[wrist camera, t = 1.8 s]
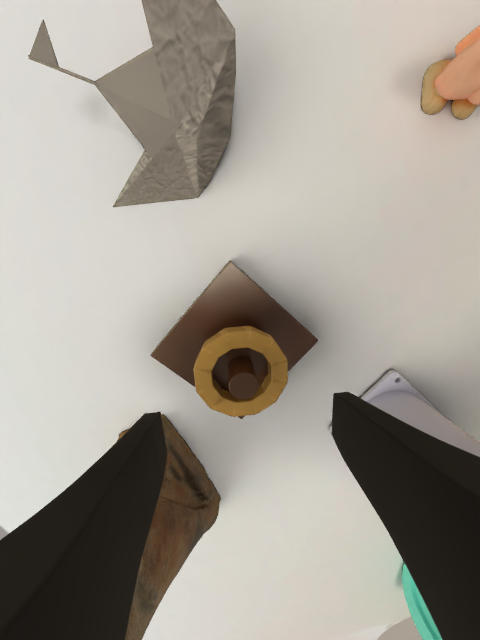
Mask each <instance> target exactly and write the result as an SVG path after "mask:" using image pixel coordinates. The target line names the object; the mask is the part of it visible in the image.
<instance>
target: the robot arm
mask: <svg viewBox="0 0 480 640" xmlns="http://www.w3.org/2000/svg"><path fill="white" fill-rule="evenodd" d="M396 378H397V380H395V379H396ZM329 431H330V433H331V434H332V436H333V438H334V440H335V443H336V445H337V447H338V449H339V451H340V453H341V455H342V457H343V459H344V461H345V462H346V464H347V466H348V467H349V469H350V471H351V472H352V474H353V475H354V477H355V479H356V480H357V482H358V483H359V485H360V487H361V488H362V490H363V491H364V493H365V495H366V496H367V498H368V499H369V501H370V503H371V504H372V506H373V507H374V509H375V511H376V512H377V514H378V515H379V517H380V519H381V520H382V522H383V524H384V525H385V527H386V529H387V531H388V532H389V534H390V536H391V538H392V540H393V542H394V544H395V545H396V547H397V549H398V551H399V553H400V555H401V557H402V559H403V561H404V563H405V565H406V567H407V568H408V570H409V572H410V574H411V576H412V578H413V580H414V582H415V584H416V586H417V588H418V590H419V592H420V594H421V596H422V598H423V600H424V602H425V604H426V606H427V608H428V610H429V612H430V614H431V617H432V619H433V621H434V623H435V625H436V627H437V629H438V631H439V633H440V635H441V638H442V640H480V442H479V441H477V440H476V439H475V438H473V437H472V436H470V435H469V434H468V433H466V432H465V431H464V430H462V429H461V428H459V427H458V426H457V425H455V424H454V423H452V422H451V421H450V420H448V419H447V418H445V417H444V416H443V415H442V414H441V413H440V412H438V411H437V410H436V409H435V408H434V407H433V406H432V405H431V404H430V403H429V402H428V401H427V400H426V399H425V398H424V397H423V396H422V395H421V394H420V393H419V392H418V391H417V390H416V389H415V388H414V387H413V386H412V385H411V384H410V383H409V382H408V381H407V380H405V379H404V378H403V377H402V376H401V375H400V374H399V373H398V372H397V371H395V370H390V371H389V372H388V373H386V374H385V375H384V376H383V377H382V378H381V379H380V380H379V381H378V382H377V383H376V384H375V385H374V386H373V387H372V388H371V389H369V390H368V391H367V392H366V393H365V394H364V395H363V396H362V397H361V398H359V397H357V396H355V395H353V394H351V393H349V392H342V393H334V396H333V415H332V425H331V426H330V428H329ZM167 454H168V453H167V447H166V441H165V436H164V430H163V425H162V419H161V413H160V412H156V413H146V414H144V415H143V416H142V417H141V418H140V419H139V420H138V421H137V422H136V423H135V424H134V425H133V426H132V427H131V428H130V429H129V430H128V431H127V432H126V433H125V434H124V435H123V436H122V437H121V438H120V439H119V440H118V441H117V442H116V443H115V444H114V445H113V446H112V447H111V448H110V449H109V450H108V451H107V452H106V453H105V454H104V455H103V456H102V457H101V458H100V459H99V460H98V461H97V462H96V463H95V464H93V465H92V466H91V467H90V468H89V469H88V470H87V471H86V472H85V473H84V474H83V475H82V476H81V477H79V478H78V479H77V480H76V481H75V482H74V483H73V484H72V485H70V486H69V487H68V488H67V489H66V490H65V491H63V492H62V493H61V494H60V495H59V496H57V497H56V498H55V499H54V500H52V501H51V502H50V503H49V504H47V505H46V506H45V507H44V508H43V509H41V510H40V511H39V512H37V513H36V514H35V515H34V516H32V517H31V518H30V519H28V520H27V521H26V522H24V523H23V524H22V525H20V526H19V527H17V528H16V529H15V530H13V531H12V532H11V533H9V534H8V535H7V536H6V537H4V538H3V539H1V540H0V640H125V637H126V632H127V627H128V621H129V616H130V611H131V606H132V601H133V596H134V591H135V586H136V581H137V576H138V571H139V567H140V563H141V559H142V555H143V551H144V548H145V544H146V541H147V537H148V534H149V530H150V526H151V523H152V519H153V516H154V512H155V509H156V505H157V502H158V498H159V494H160V491H161V487H162V483H163V479H164V473H165V467H166V461H167Z"/></svg>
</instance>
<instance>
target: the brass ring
mask: <svg viewBox="0 0 480 640" xmlns="http://www.w3.org/2000/svg"><path fill="white" fill-rule="evenodd" d="M247 347H248V348H251V349H253V350H255V351H258V352H260V353H262V354H263V355H264V357H265V358H266V360H267V361H268V374H267V375H266V377H265V379H264V381H263V383H262V384H261V385H260V386H259V387H258V390H257V392H256V393H255V394H254V395H253V396H252V397H250V398H247V399H239V398H236V397H234V396H233V395H232V394H231V392H229V391H227V390H224V389H222V388H221V387H220V385H219V384H218V383H217V382H216V380H215V379H214V378H213V368H214V366H215V364H216V362H217V360H218V358H219V357H220V356H222V355H223V354H225V353H226V352H228V351H229V350H231V349H236V348H247ZM193 370H194V378H195V386H196V391H197V393H198V394H199V395H200V397H201V398H202V399H203V400H204V401H205V403H206V404H207V405H208V406H209V407H210V408H211V409H213V410H216V411H218V412H221V413H224V414H226V415H229V416H233V417H236V416H245V415H254V414H257V413H259V412H261V411H262V410H264V409H265V408H267V407H269V406H270V405H272V404H273V403H275V402H276V401H277V400H278V398H279V396H280V394H281V393H282V391H283V389H284V388H285V386H286V384H287V381H288V361H287V358H286V357H285V355H284V354H283V352H282V351H281V349H280V348H279V346H278V345H277V343H276V341H275V340H274V338H273V337H272V336H271V335H269V334H267V333H265V332H263V331H261V330H258V329H256V328H254V327H252V326H240V327H228V328H224V329H223V330H221V331H220V332H218V333H217V334H215V335H214V336H212V337H211V338H209V339H208V340H206V341H205V342H204V344H203V346H202V348H201V350H200V352H199V354H198V356H197V358H196V361H195V364H194V369H193Z"/></svg>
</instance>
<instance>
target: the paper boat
mask: <svg viewBox="0 0 480 640" xmlns="http://www.w3.org/2000/svg"><path fill="white" fill-rule="evenodd" d="M142 4H143V8H144V12H145V16H146V20H147V24H148V28H149V32H150V36H151V40H152V45H153V47H152V48H150V49H148V50H147V51H145V52H143V53H142V54H140V55H138V56H137V57H135V58H133V59H132V60H130V61H128V62H127V63H125V64H123V65H121V66H120V67H118V68H116V69H115V70H113V71H111V72H110V73H108V74H106V75H105V76H103V77H101V78H99V79H98V80H96V81H92V80H90V79H87V78H85V77H82V76H80V75H78V74H75V73H73V72H70V71H68V70H65V69H63V68H60V67H59V66H58V62H57V59H56V56H55V53H54V50H53V47H52V44H51V41H50V38H49V35H48V32H47V29H46V26H45V23H44V20H42V23H41V26H40V28H39V31H38V34H37V37H36V39H35V42H34V45H33V47H32V50H31V53H30V55H28V57H29V59H31V60H34V61H36V62H39V63H41V64H44V65H46V66H49V67H51V68H54V69H56V70H59V71H61V72H64V73H66V74H69V75H71V76H74V77H76V78H79V79H81V80H84V81H86V82H89V83H91V84H94V85H95V86H96V87H97V88H98V90H99V91H100V92H101V93H102V95H103V96H104V97H105V98H106V100H107V101H108V102H109V104H110V105H111V106H112V107H113V109H114V110H115V111H116V112H117V114H118V115H119V116H120V118H121V119H122V120H123V121H124V123H125V124H126V125H127V126H128V128H129V129H130V130H131V132H132V133H133V134H134V135H135V137H136V138H137V139H138V140H139V142H140V143H141V144H142V146H143V147H144V148H145V151H144V153H143V154H142V156H141V158H140V160H139V161H138V163H137V165H136V167H135V168H134V170H133V172H132V174H131V175H130V177H129V179H128V181H127V182H126V184H125V186H124V188H123V190H122V191H121V193H120V195H119V197H118V198H117V200H116V202H115V204H114V205H113V207H117V206H127V205H136V204H145V203H154V202H164V201H173V200H182V199H191V198H198V197H199V196H200V194H201V193H202V191H203V190H204V188H205V187H206V185H207V184H208V182H209V181H210V179H211V176H212V174H213V172H214V170H215V168H216V166H217V164H218V162H219V160H220V158H221V156H222V153H223V151H224V149H225V147H226V145H227V143H228V141H229V139H230V134H231V123H232V111H233V99H234V87H235V75H236V51H235V28H234V27H233V25H232V24H231V22H230V21H229V19H228V18H227V16H226V15H225V13H224V12H223V10H222V9H221V7H220V6H219V4H218V3H217V1H216V0H142Z"/></svg>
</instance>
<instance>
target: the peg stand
mask: <svg viewBox="0 0 480 640" xmlns="http://www.w3.org/2000/svg"><path fill="white" fill-rule="evenodd" d="M240 326H252V327H254V328H256V329H258V330H261V331H263V332H265V333H267V334H269V335H271V336H272V337H273V338H274V340H275V341H276V343H277V345H278V346H279V348H280V349H281V351H282V352H283V354H284V355H285V357H286V358H287V361H288V371H289V370H290V369H291V368H292V367H293V366H294V365H295V364H296V363H297V362H298V361H299V360H300V359H301V358H302V357H303V356H304V355H305V354H306V353H307V352H308V351H309V350H310V349H311V348H312V347H313V346H314V345H315V344H316V343H317V341H318V339H317V338H316V337H315V336H313V335H312V334H311V333H310V332H309V331H308V330H307V329H306V328H305V327H303V326H302V325H301V324H300V323H299V322H298V321H297V320H296V319H295V318H293V317H292V316H291V315H290V314H289V313H288V312H287V311H286V310H285V309H284V308H282V307H281V306H280V305H279V304H278V303H277V302H276V301H275V300H274V299H272V298H271V297H270V296H269V295H268V294H267V293H266V292H265V291H264V290H262V289H261V288H260V287H259V286H258V285H257V284H256V283H255V282H254V281H252V280H251V279H250V278H249V277H248V276H247V275H246V274H245V273H244V272H242V271H241V270H240V269H239V268H238V267H237V266H236V265H235V264H234V263H233V262H231V261H229V262H228V263H227V264H226V265H225V266H224V268H223V269H222V270H221V271H220V272H219V274H218V275H217V276H216V277H215V278H214V279H213V281H212V282H211V283H210V284H209V285H208V287H207V288H206V289H205V290H204V291H203V293H202V294H201V295H200V296H199V297H198V298H197V300H196V301H195V302H194V303H193V304H192V306H191V307H190V308H189V309H188V310H187V311H186V313H185V314H184V315H183V316H182V317H181V319H180V320H179V321H178V322H177V323H176V324H175V326H174V327H173V328H172V329H171V330H170V332H169V333H168V334H167V335H166V336H165V337H164V339H163V340H162V341H161V342H160V343H159V345H158V346H157V347H156V348H155V349H154V351H153V352H152V354H151V356H152V357H153V358H155V359H156V360H158V361H159V362H160V363H162V364H163V365H165V366H166V367H168V368H169V369H170V370H172V371H173V372H175V373H176V374H178V375H179V376H180V377H182V378H183V379H185V380H186V381H188V382H189V383H190V384H192V385H193V386H195V378H194V370H193V369H194V364H195V361H196V358H197V356H198V354H199V352H200V350H201V348H202V346H203V344H204V342H205V341H206V340H208V339H209V338H211V337H212V336H214V335H215V334H217V333H218V332H220V331H221V330H223V329H224V328H228V327H240ZM267 374H268V361H267V360H266V358H265V357H264V355H263V354H262V353H260V352H258V351H255V350H253V349H251V348H248V347H247V348H236V349H231V350H229V351H228V352H226V353H225V354H223V355H222V356H220V357H219V358H218V360H217V362H216V364H215V366H214V368H213V378H214V379H215V380H216V382H217V383H218V384H219V385H220V387H221V388H222V389H224V390H227V391H229V392H231V394H232V395H233V396H234V397H236V398H239V399H247V398H250V397H252V396H253V395H254V394H255V393H256V392H257V390H258V387H259V386H260V385H261V384H262V383H263V381H264V379H265V377H266V375H267ZM195 387H196V386H195ZM238 417H239V418H240V419H242V418H243V417H244V416H238Z"/></svg>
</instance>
